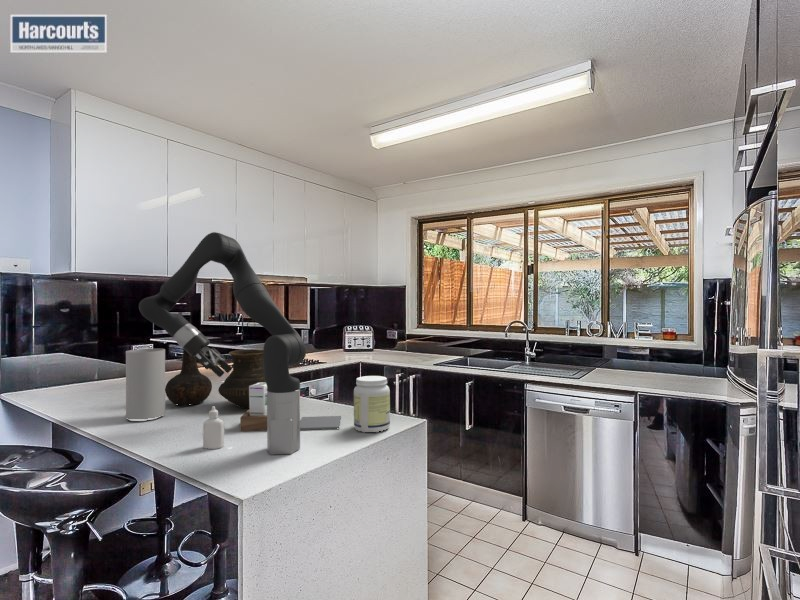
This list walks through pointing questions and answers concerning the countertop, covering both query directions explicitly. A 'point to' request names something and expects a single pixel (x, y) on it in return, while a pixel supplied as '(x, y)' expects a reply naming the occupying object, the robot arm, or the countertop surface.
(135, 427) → the countertop surface
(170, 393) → the brown bulbous vase
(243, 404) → the ceramic pot
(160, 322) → the robot arm
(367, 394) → the supplement tub
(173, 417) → the countertop surface
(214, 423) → the eye dropper bottle
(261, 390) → the syrup box
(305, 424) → the grey flat block
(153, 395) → the cylinder vase
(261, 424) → the walnut collar
